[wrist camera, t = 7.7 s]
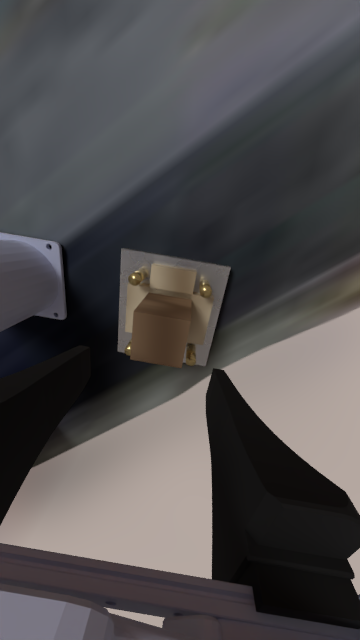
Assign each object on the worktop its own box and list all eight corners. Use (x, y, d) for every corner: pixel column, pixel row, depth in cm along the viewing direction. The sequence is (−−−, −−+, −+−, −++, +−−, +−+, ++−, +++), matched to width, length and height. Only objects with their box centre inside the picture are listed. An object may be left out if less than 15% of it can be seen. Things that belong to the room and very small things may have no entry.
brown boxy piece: (127, 343, 22) (104, 380, 16) (132, 259, 18) (105, 269, 13) (198, 356, 22) (200, 396, 16) (218, 274, 18) (228, 291, 13)
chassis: (120, 346, 23) (108, 364, 20) (124, 247, 19) (110, 250, 15) (205, 361, 23) (206, 381, 20) (229, 265, 19) (236, 272, 16)
